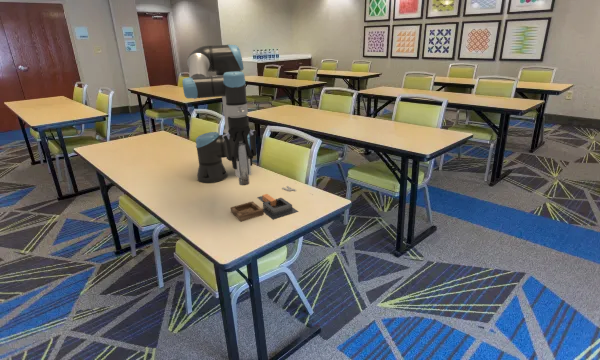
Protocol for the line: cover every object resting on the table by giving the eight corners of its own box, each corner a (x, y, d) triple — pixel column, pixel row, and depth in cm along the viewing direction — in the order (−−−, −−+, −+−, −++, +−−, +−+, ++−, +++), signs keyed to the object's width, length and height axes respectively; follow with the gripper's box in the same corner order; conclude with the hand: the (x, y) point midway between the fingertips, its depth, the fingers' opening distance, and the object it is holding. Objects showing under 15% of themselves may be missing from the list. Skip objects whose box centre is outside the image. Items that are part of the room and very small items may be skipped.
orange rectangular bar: (262, 200, 157) (262, 195, 156) (267, 198, 158) (267, 193, 157) (271, 206, 150) (270, 201, 149) (276, 205, 151) (275, 199, 151)
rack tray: (231, 213, 147) (230, 207, 146) (253, 207, 152) (252, 201, 151) (241, 223, 139) (240, 216, 138) (263, 216, 144) (263, 209, 143)
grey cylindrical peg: (237, 183, 141) (233, 142, 135) (246, 180, 143) (243, 140, 137) (241, 186, 138) (237, 144, 132) (251, 183, 140) (247, 143, 134)
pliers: (296, 199, 156) (276, 189, 166) (296, 202, 156) (276, 192, 167) (313, 192, 161) (292, 183, 172) (313, 196, 162) (292, 186, 173)
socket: (248, 201, 158) (247, 194, 157) (272, 194, 164) (271, 188, 163) (273, 221, 140) (272, 214, 139) (298, 212, 146) (298, 206, 145)
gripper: (219, 120, 124) (226, 183, 132) (263, 114, 132) (267, 173, 141) (211, 117, 130) (219, 177, 138) (254, 111, 138) (258, 168, 146)
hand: (243, 175), depth 139 cm, fingers closed on grey cylindrical peg, 4 cm apart
